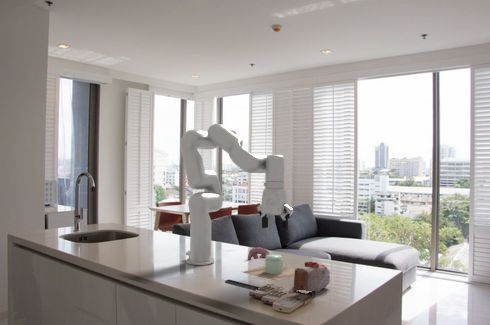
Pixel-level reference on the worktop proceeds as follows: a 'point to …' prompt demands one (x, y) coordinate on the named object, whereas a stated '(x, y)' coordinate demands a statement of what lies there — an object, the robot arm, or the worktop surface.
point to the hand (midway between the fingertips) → (274, 229)
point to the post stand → (261, 272)
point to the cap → (273, 264)
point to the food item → (311, 277)
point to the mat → (241, 285)
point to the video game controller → (256, 251)
